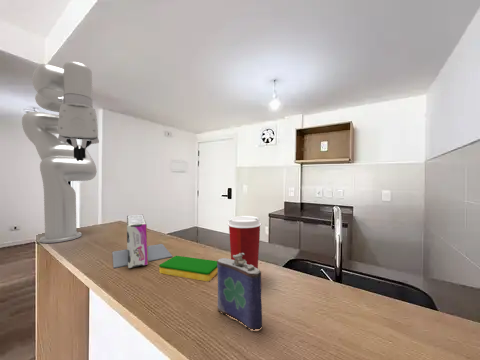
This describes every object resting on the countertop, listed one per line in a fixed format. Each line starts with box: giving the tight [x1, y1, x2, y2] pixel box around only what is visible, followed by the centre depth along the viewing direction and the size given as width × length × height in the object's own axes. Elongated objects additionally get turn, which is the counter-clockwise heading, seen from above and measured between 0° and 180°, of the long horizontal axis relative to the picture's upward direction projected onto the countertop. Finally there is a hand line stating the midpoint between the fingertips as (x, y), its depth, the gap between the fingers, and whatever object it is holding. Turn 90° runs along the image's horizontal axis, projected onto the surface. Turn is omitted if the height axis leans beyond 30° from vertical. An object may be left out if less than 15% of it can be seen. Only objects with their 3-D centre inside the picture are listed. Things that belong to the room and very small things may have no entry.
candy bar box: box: [126, 214, 149, 269], centre depth 64 cm, size 11×5×16 cm
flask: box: [216, 253, 263, 330], centre depth 37 cm, size 9×3×11 cm, turn 48°
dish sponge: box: [158, 255, 218, 282], centre depth 55 cm, size 7×14×2 cm, turn 70°
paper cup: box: [226, 215, 262, 269], centre depth 50 cm, size 8×8×14 cm
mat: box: [111, 243, 173, 269], centre depth 67 cm, size 14×15×1 cm
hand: (79, 160), depth 72 cm, fingers closed
